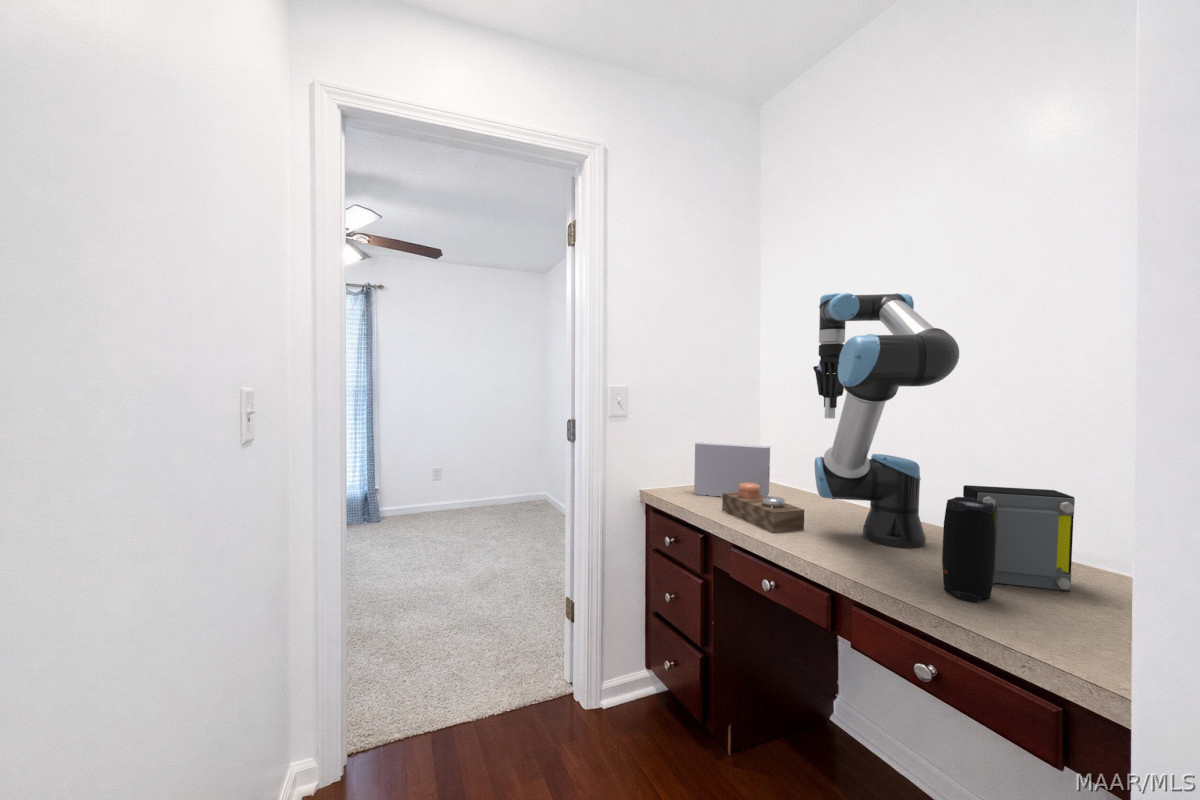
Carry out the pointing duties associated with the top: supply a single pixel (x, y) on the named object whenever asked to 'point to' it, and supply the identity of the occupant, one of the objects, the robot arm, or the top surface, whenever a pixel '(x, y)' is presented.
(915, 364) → the robot arm
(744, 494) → the terracotta button
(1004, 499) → the electrical component
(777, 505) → the metal button
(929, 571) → the top surface
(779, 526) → the wooden base block
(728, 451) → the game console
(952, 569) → the portable speaker
